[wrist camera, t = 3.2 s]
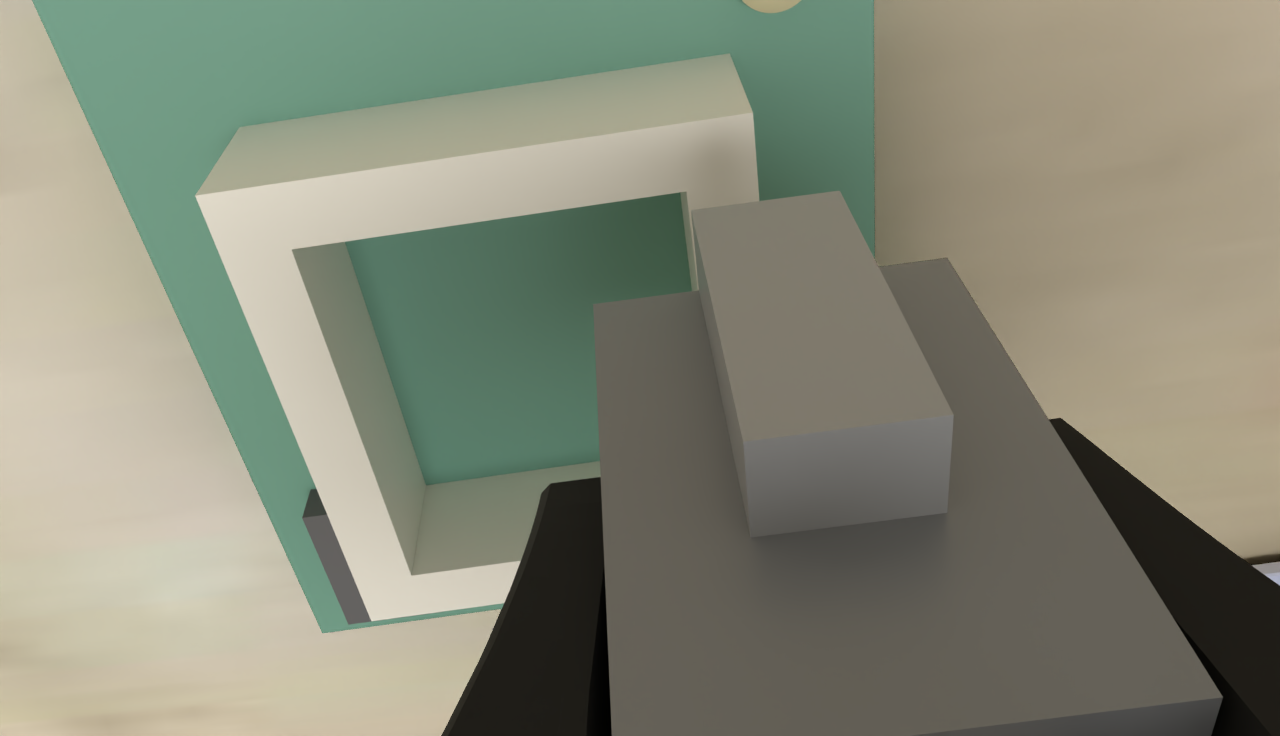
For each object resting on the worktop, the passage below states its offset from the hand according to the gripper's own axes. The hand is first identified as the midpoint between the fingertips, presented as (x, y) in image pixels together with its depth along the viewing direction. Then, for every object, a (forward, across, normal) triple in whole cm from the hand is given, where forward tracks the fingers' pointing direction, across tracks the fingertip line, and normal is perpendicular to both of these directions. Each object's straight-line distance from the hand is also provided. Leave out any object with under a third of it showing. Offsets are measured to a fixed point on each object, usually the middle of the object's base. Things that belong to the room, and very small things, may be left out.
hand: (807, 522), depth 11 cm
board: (+9, +3, +2) cm, 10 cm away
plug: (+2, 0, 0) cm, 2 cm away
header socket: (+8, +3, +2) cm, 9 cm away
